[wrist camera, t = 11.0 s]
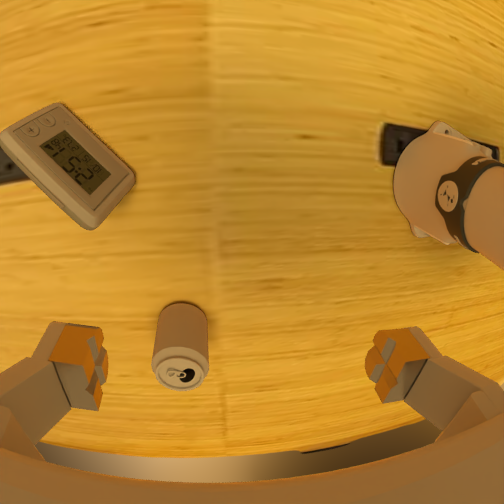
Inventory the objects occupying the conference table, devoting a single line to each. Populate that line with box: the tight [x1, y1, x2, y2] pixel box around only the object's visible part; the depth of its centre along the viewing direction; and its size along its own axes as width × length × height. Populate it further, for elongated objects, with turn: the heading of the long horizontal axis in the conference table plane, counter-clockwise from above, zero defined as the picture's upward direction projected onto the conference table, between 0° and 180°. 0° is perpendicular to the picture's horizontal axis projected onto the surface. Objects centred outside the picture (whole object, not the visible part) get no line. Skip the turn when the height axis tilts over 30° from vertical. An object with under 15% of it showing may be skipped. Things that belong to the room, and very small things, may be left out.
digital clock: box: [0, 103, 135, 230], centre depth 31 cm, size 16×9×11 cm, turn 31°
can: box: [151, 303, 209, 391], centre depth 42 cm, size 8×8×12 cm
